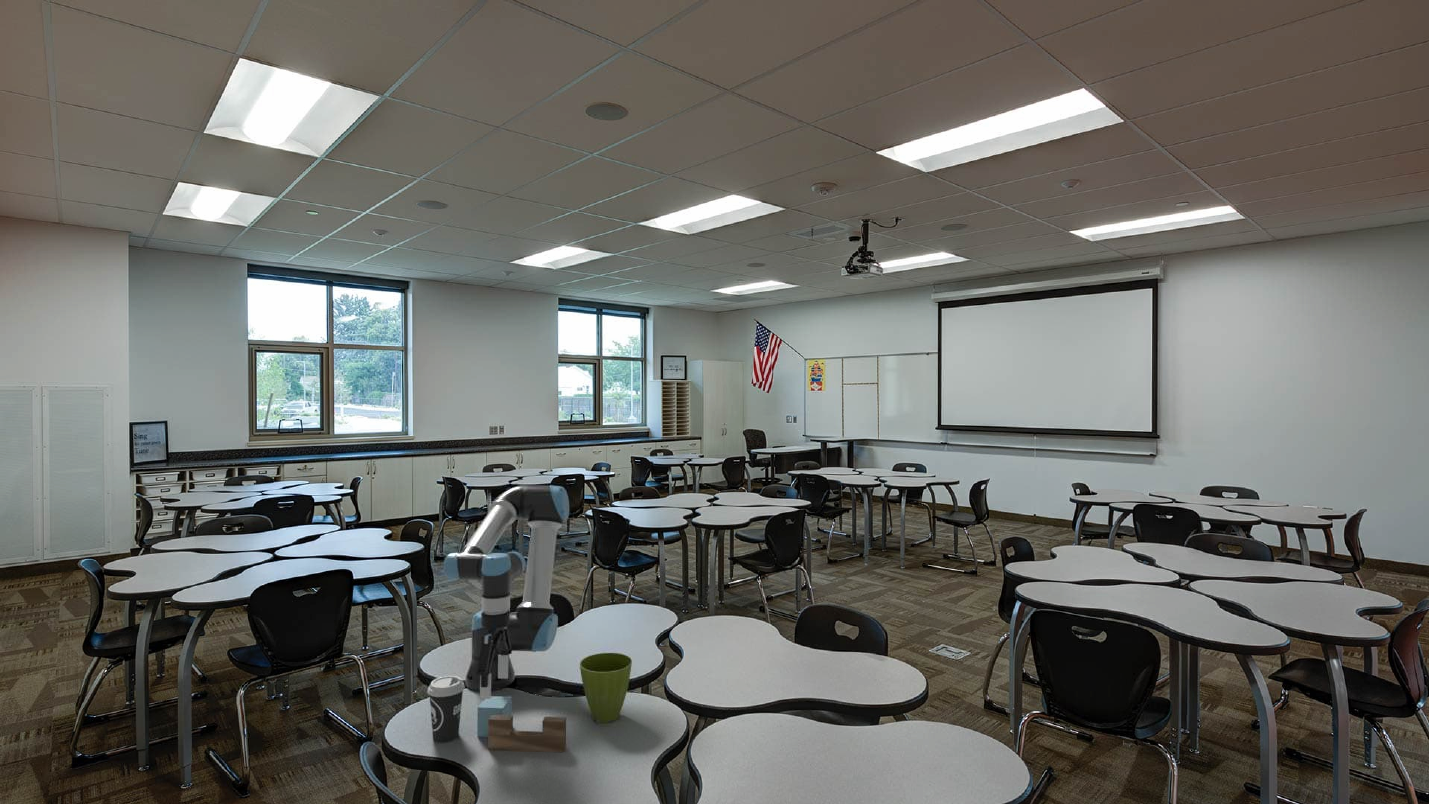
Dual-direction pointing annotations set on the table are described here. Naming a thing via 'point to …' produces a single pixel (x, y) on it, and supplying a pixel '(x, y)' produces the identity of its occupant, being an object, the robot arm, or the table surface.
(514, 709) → the table surface
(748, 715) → the table surface
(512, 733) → the walnut slotted plate
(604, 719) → the flower pot
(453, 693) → the coffee cup
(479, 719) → the teal notched block
